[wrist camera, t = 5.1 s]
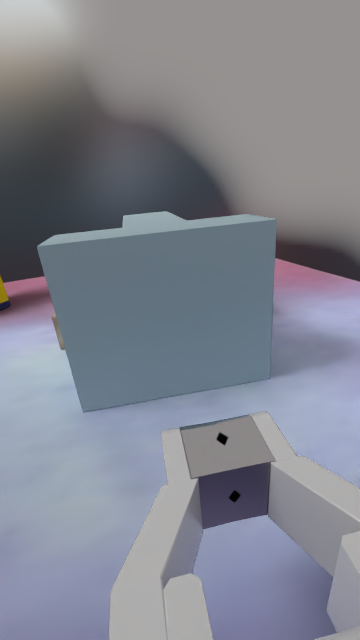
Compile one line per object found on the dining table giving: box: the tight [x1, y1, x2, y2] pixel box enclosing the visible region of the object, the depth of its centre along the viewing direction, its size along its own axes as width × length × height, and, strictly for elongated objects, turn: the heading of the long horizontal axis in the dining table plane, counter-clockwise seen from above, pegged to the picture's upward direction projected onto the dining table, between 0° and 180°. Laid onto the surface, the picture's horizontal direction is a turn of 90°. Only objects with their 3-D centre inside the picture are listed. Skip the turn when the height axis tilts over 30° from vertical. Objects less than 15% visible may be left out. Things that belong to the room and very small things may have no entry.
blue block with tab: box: [37, 211, 276, 412], centre depth 23 cm, size 12×14×10 cm
